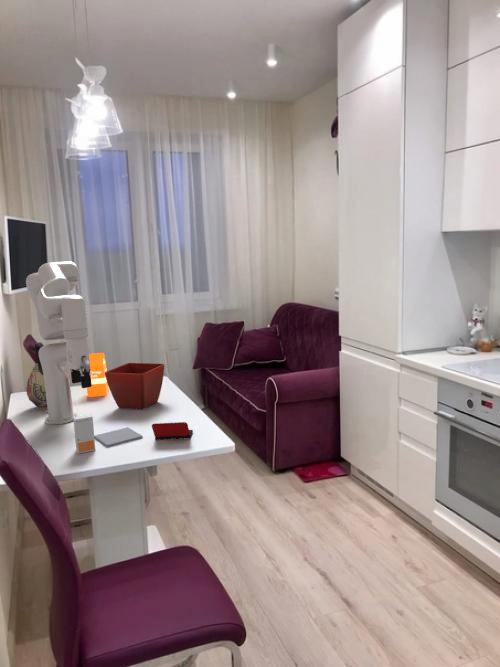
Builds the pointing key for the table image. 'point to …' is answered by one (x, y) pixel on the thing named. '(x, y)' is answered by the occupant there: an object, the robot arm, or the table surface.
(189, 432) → the handheld game console
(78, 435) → the skincare box
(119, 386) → the plant pot
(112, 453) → the table surface
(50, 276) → the robot arm
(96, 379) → the orange juice
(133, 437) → the slate mat
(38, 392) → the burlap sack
